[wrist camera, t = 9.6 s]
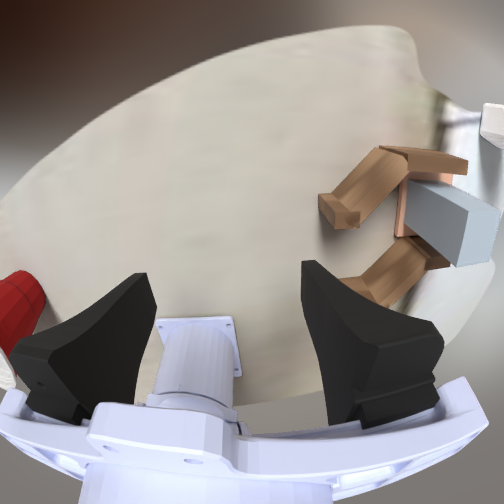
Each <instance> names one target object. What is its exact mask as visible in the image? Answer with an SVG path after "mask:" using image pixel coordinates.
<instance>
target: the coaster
mask: <svg viewBox="0 0 504 504" xmlns="http://www.w3.org/2000/svg"><path fill="white" fill-rule="evenodd" d="M452 177H453V174H447V173H434V172H418V171H410V172H409V173H408V174H407V175H406V176H405V177H404V178H403V179H402V180H401V182H400V183H399V196H398V206H397V216H396V224H395V232H394V234H395V235H396V236H397V237H400V236H413V235H418V234H417V233H416V232H415V231H413V230H412V229H411V228H410V227H408V226H407V225H406V224H405V223H404V215H405V206H406V197H407V185H408V179H421V180H441V181H443V182H446V183H448V184H450V185H452Z"/></svg>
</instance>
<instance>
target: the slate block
mask: <svg viewBox="0 0 504 504" xmlns="http://www.w3.org/2000/svg"><path fill="white" fill-rule="evenodd" d="M500 216H501V211H500V210H498V209H496V208H495V207H493V206H491V205H489V204H488V203H486V202H484V201H482V200H480V199H478V198H476V197H474V196H472V195H470V194H469V193H467V192H465V191H462V190H460V189H458V188H456V187H454V186H452V185H450V184H448V183H446V182H443V181H441V180H421V179H408V185H407V197H406V206H405V215H404V223H405V224H406V225H407V226H408V227H410V228H411V229H412V230H413V231H415V232H416V233H417V234H418V235H419V236H421V237H422V238H423V239H424V240H425V241H427V242H428V243H429V244H430V245H431V246H432V247H434V248H435V249H436V250H437V251H438V252H439V253H441V254H442V255H443V256H444V257H445V258H446V259H447V260H448V261H449V262H451V263H452V264H453V265H454V266H455V267H462V266H467V265H473V264H479V263H484V262H489V260H490V256H491V253H492V249H493V246H494V242H495V238H496V234H497V230H498V225H499V220H500Z"/></svg>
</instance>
